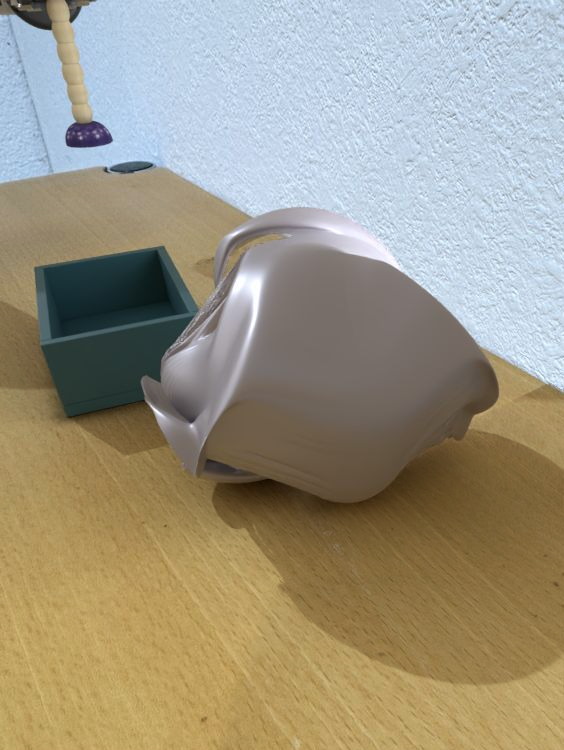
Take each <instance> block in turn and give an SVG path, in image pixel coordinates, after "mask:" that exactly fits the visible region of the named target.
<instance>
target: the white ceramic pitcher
mask: <svg viewBox="0 0 564 750" xmlns="http://www.w3.org/2000/svg"><path fill="white" fill-rule="evenodd" d="M270 235H291V236H289V237H283V238H279V239H274V240H270V241H265V242H260V243H259V244H255V245H253V246H252V247H249V248H246V249H245V251H244V252H242V253H240V255H239V257H238V258H237V260H236V262H235V263H234V264H233V265H232V267H230V270H228V272H227V273H226V274H225V272H226V268H227V267H228V262H229V260H230V257H231V256H232V255H233V254H235V253H236V252H237V251H239V250H240V249H242V248H243V247H245V246H246V245H248V244H249V243H251V242H253V241H256V240H258V239H261V238H263V237H267V236H270ZM224 274H225V275H224ZM213 283H214V288H215V290H213V291H212V294H211V295H210V296H209V297H208V298H207V300H206V301H205V302H204V304H203V305H202V307H200V308H199V312H198V313H197V314H196V316H195V317H194V318H193V320H192V321H191V322H190V324H189V325H188V326H187V328H186V329H185V330H184V332H183V333H182V334H181V336H180V337H178V339H177V340H176V342H175V343H174V344H173V346H171V347H170V348H169V349H168V350H167V352H166V353H165V355H164V356H163V358H162V360H161V363H162V364H161V371H160V374H161V383H159V382H158V381H156V380H154V379H151V378H149V377H148V376H147V375H146V376H143V377H142V380H141V385H142V389H143V392H144V395H145V397H146V398H145V397H144V399H145V400H144V401H145V403H146V404H147V405H148V407H149V408H150V409H151V410H152V412H153V414H154V416H155V419H156V422H157V425H158V427H159V429H160V431H161V432H162V434H163V436H164V438H165V440H166V442H167V444H168V445H169V446H170V447H171V449H172V450H173V452H174V454H175V455H176V457H177V458H178V459H179V460H180V461H181V463H182V464H181V465H182V471H183V472H185V473H187V474H188V475H191V476H193V477H194V478H196V479H201V480H205V481H210V482H214V483H222V484H244V483H245V484H247V483H254V482H259V481H263V480H267V479H270V480H272V481H276V482H279V483H282V484H285V485H287V486H290V487H292V488H295V489H298V490H300V491H304V492H307V493H309V494H311V495H314V496H316V497H318V498H320V499H321V500H325V501H327V502H328V501H329V502H331V503H332V502H333V503H340V504H354V503H355V504H356V503H360V502H364V501H367V500H369V499H371V498H373V497H375V496H376V495H378V494H380V493H381V492H383V491H384V490H385V489H386V488H387V487H389V486H390V485H391V484H392V483H393V482H394V481H395V479H396V478H397V477H398V476H399V475H400V473H401V472H402V470H404V469H405V467H407V466H408V465H409V464H410V463H412V462H413V461H414V460H415V459H416V458H418V457H419V456H421V455H422V454H423V453H424V452H426V451H427V450H428V449H430V448H432V447H434V446H437V445H438V446H439V445H440V444H442V443H443V442H445V440H447V439H454V440H455V441H457V442H461V441H463V439H465V437H466V435H467V434H468V433H467V432H468V431H469V427H470V425H471V423H472V421H473V418H474V417H475V416H476V415H479V414H482V413H484V412H486V411H488V410H490V409H491V408H492V407H494V405H496V403H497V402H498V400H499V396H500V385H499V380H498V377H497V374H496V372H495V370H494V368H493V365H492V363H491V362H490V360H489V359H488V356H487V355H486V354H485V351H483V350H482V348H481V346H480V345H479V343H478V342H477V341H476V340H475V338H473V336H472V335H471V334H470V332H469V331H468V330H467V329H466V328H465V326H464V325H463V324H462V323H461V322H460V321H459V320H458V318H456V316H455V315H454V314H453V313H452V312H451V311H450V310H449V309H448V308H447V307H446V306H445V305H443V303H442V302H440V301H439V300H438V299H437V298H436V297H435V296H433V295H432V293H430V292H429V291H427V289H425V288H424V287H423V286H422V285H420V284H419V283H418V282H416V281H415V280H414V279H412V278H411V277H410V276H408V275H407V274H405V272H403V269H402V268H401V266H400V264H399V263H398V261H397V260H396V258H395V256H394V255H393V254H392V253H391V251H390V250H389V249H388V247H387V246H386V245H385V244H384V243H383V242H382V241H381V240H380V239H379V238H378V237H377V236H375V235H374V233H372V232H371V231H369V230H368V229H367V228H365V227H364V226H363V225H361V224H359V223H357V222H356V221H354V220H352V219H351V218H349V217H347V216H345V215H341V214H339V213H337V212H335V211H331V210H328V209H323V208H318V207H309V206H293V207H285V208H280V209H279V208H278V209H275V210H272V211H268V212H265V213H262V214H260V215H257V216H255V217H253V218H250V219H249V220H246V221H245V222H243V223H241V224H239V225H238V226H236V227H235V228H233V229H232V230H230V231H228V233H227V234H226V235H224V236H223V237H222V239H220V241H219V243H218V245H217V246H216V249H215V253H214V259H213Z"/></svg>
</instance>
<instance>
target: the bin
mask: <svg viewBox="0 0 564 750" xmlns="http://www.w3.org/2000/svg"><path fill="white" fill-rule="evenodd" d="M33 271H34V273H33V274H34V284H35V295H36V296H35V297H36V308H37V318H38V320H37V321H38V330H39V343H40V344H39V345H40V349H41V351H42V354H43V356H44V359H45V362H46V365H47V368H48V370H49V373H50V376H51V379H52V381H53V384H54V386H55V389H56V393H57V394H58V397H59V400H60V403H61V406H62V409H63V411H64V414H65V416H66V418H70V417H75V416H79V415H83V414H88V413H93V412H97V411H102V410H106V409H110V408H114V407H120V406H124V405H128V404H133V403H137V402H142V401H145V399H144V397H145V395H144V392H143V389H142V385H141V380H142V377H143V376H146V375H147V376H148V377H149V378H151V379H154V380H156V381H158V382H159V383H161V374H160V371H161V364H162V363H161V360H162V358H163V356H164V355H165V353H166V352H167V350H168V349H169V348H170V347H171V346H173V344H174V343H175V342H176V340H177V339H178V337H180V336H181V334H182V333H183V332H184V330H185V329H186V328H187V326H188V325H189V324H190V322H191V321H192V320H193V318H194V317H195V316H196V314H197V313H198V312H199V310H200V308H199V306H198V305H197V303H196V301H195V299H194V297H193V296H192V294H191V292H190V290H189V288H188V286H187V285H186V283H185V281H184V279H183V277H182V276H181V274H180V272H179V269H178V268H177V267H176V265H175V263H174V261H173V259H172V257H171V256H170V254H169V251H168V250H167V248H166V246H165V245H159V246H152V247H148V248H141V249H134V250H128V251H122V252H116V253H109V254H105V255H98V256H92V257H87V258H80V259H74V260H68V261H61V262H55V263H49V264H43V265H38V266H34V267H33ZM145 398H146V397H145Z"/></svg>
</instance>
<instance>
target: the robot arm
mask: <svg viewBox="0 0 564 750" xmlns="http://www.w3.org/2000/svg"><path fill="white" fill-rule="evenodd" d="M46 2H47V0H0V16H17V17H18V18H19V19H20V20H22V21H23V22H25V23H26V24H27V25H30V26H31V27H34V28H36V29H38V30H39V29H40V30H43V31H52V20H51V19H50V17H49V15H48V12H47V8H46ZM65 2H66V3H67V5H68V8H69V12H70V18H69V22H70V23H71V24H72V23H74V22H75V21H76V20H77V18H78V17H79V15H80V13H81V11H82V8H83V7H88V6H90V5H91V4H90V3H96V2H98V0H65Z"/></svg>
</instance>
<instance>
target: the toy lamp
mask: <svg viewBox="0 0 564 750" xmlns="http://www.w3.org/2000/svg"><path fill="white" fill-rule="evenodd" d="M46 8H47V12H48V15H49V17H50V19H51V20H52V30H51V32H52V36H53V38H54V40H55V41H56V54H57V57H58V59H59V61H60V62H61V73H62V77H63V79H64V81H65V83H66V93H67V97H68V100H69V102H70V103H71V114H72V117H73V119H74V122H73V123H72V124H70V125H69V126H68V127H67V129H66V131H65V137H64V138H65V139H64V141H65V145H66V146H67V147H68V148H74V149H75V148H76V149H87V148H97V147H104V146H106V145H109V144H112V143H113V141H114V138H113V137H112V134H111V132H110V131H109V129H108V128H107V127H106V126H105V125H104V124H102V123H101V122H99V121H96V120H93V115H94V114H93V110H92V107H91V105H90V103H89V91H88V89H87V87H86V84H84V81H85V73H84V69H83V68H82V66H81V64H80V51H79V49H78V46H77V44H76V43H75V35H76V34H75V29H74V27H73V25H72V23H70V22H69V18H70V12H69V8H68V5H67V3H66V2H65V0H47V2H46Z"/></svg>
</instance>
